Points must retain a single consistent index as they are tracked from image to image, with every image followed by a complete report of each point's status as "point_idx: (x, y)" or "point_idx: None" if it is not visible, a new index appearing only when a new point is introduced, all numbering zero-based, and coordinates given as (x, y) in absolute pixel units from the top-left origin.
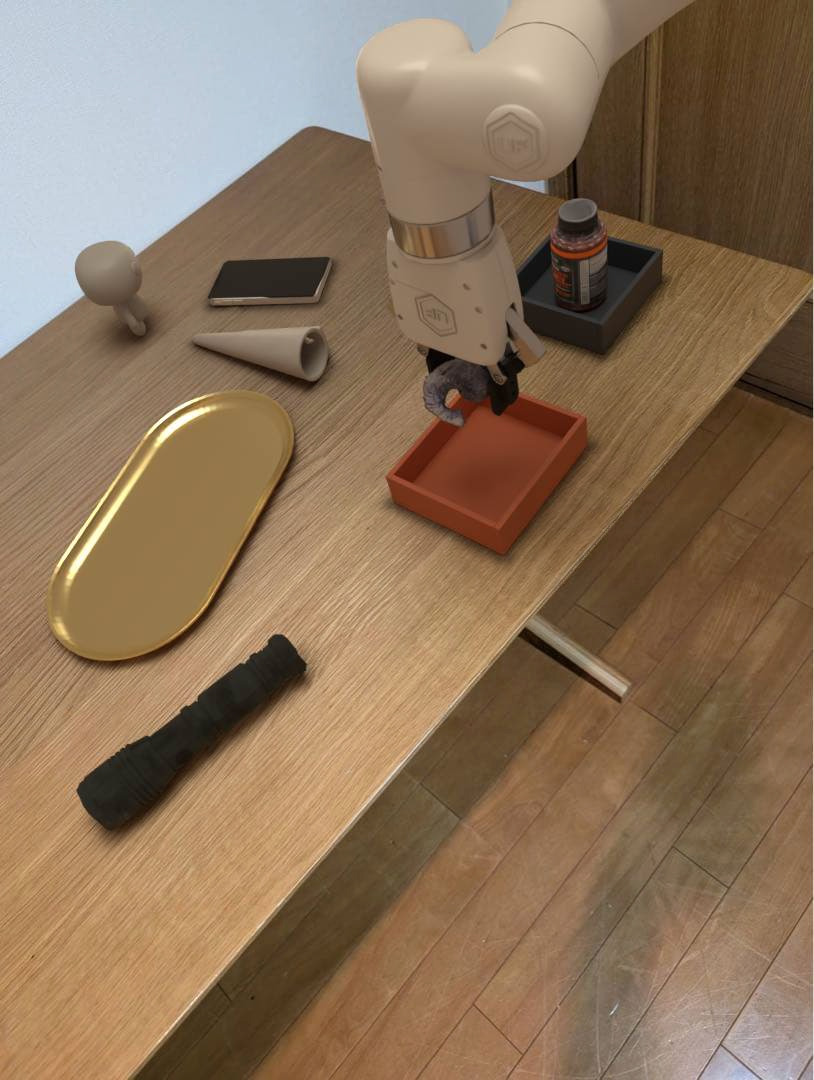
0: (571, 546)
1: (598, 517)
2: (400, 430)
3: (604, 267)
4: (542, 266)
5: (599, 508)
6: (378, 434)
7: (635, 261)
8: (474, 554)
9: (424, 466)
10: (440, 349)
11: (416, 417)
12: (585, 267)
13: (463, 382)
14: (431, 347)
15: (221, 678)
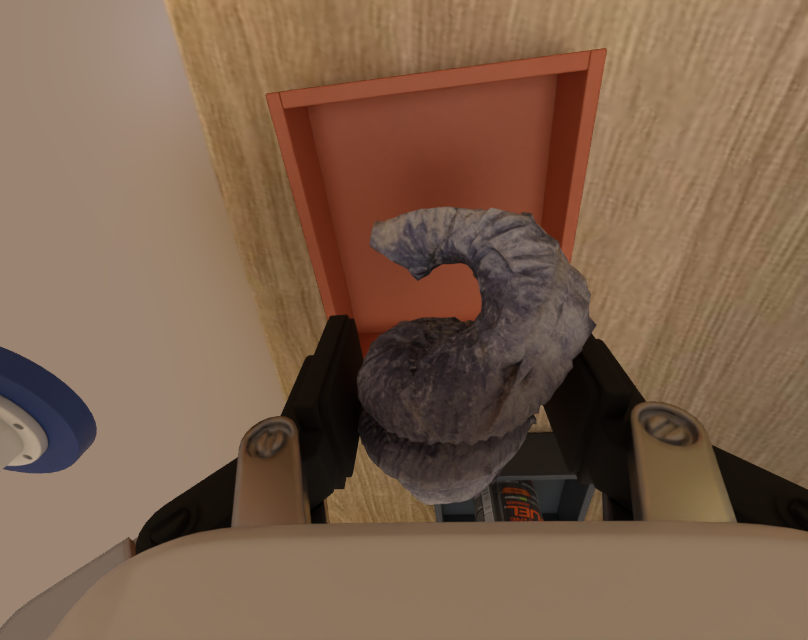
0: (234, 184)
1: (250, 250)
2: (642, 218)
3: None
4: (565, 501)
5: (261, 263)
6: (685, 186)
7: None
8: (339, 55)
9: (548, 170)
10: (507, 557)
11: (624, 255)
12: None
13: (420, 368)
14: (594, 541)
15: None
